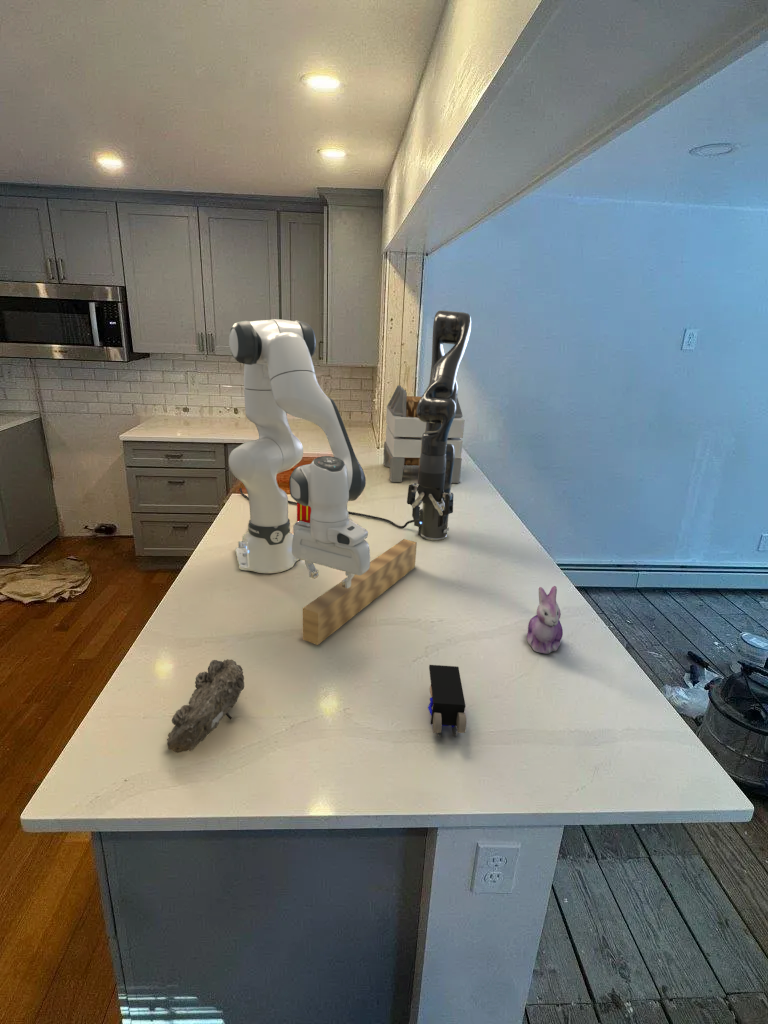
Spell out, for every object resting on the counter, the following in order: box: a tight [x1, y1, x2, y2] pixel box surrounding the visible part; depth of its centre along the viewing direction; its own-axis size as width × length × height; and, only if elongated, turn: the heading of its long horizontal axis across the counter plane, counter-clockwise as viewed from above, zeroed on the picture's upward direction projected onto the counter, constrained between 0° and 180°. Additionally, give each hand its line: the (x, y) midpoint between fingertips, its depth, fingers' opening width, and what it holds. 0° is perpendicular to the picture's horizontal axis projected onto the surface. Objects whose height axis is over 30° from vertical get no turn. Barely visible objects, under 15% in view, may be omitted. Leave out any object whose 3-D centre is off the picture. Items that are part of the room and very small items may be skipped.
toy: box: [296, 502, 311, 523], centre depth 210 cm, size 12×13×30 cm
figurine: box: [526, 585, 564, 655], centre depth 134 cm, size 9×10×15 cm
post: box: [302, 538, 418, 646], centre depth 153 cm, size 51×4×8 cm, turn 151°
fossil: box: [166, 658, 245, 754], centre depth 106 cm, size 22×10×15 cm
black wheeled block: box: [427, 664, 467, 738], centre depth 109 cm, size 7×8×15 cm
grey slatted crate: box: [383, 384, 465, 484], centre depth 268 cm, size 34×33×41 cm
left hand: (329, 582), depth 135 cm, fingers open, 8 cm apart
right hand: (428, 523), depth 164 cm, fingers open, 8 cm apart
